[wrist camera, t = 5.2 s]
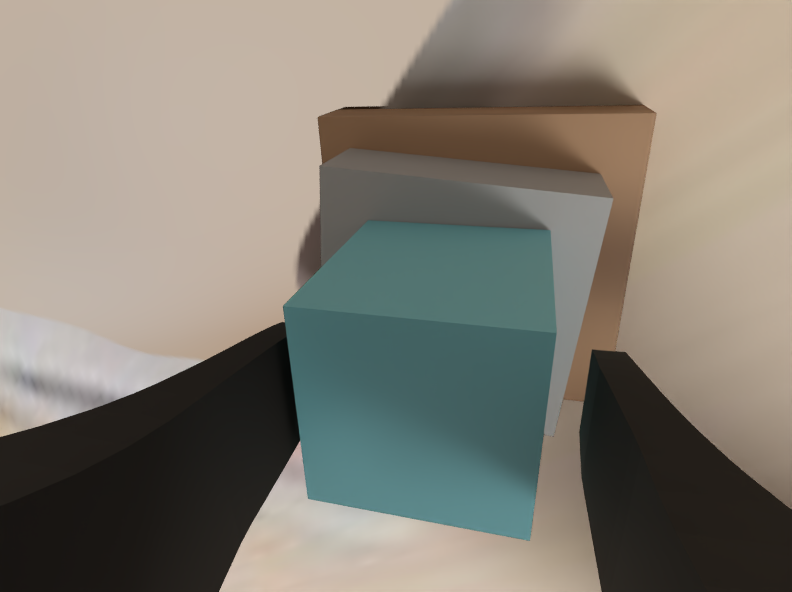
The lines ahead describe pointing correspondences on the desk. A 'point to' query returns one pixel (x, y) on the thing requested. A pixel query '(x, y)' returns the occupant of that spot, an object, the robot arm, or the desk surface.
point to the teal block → (427, 372)
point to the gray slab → (479, 219)
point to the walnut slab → (536, 147)
